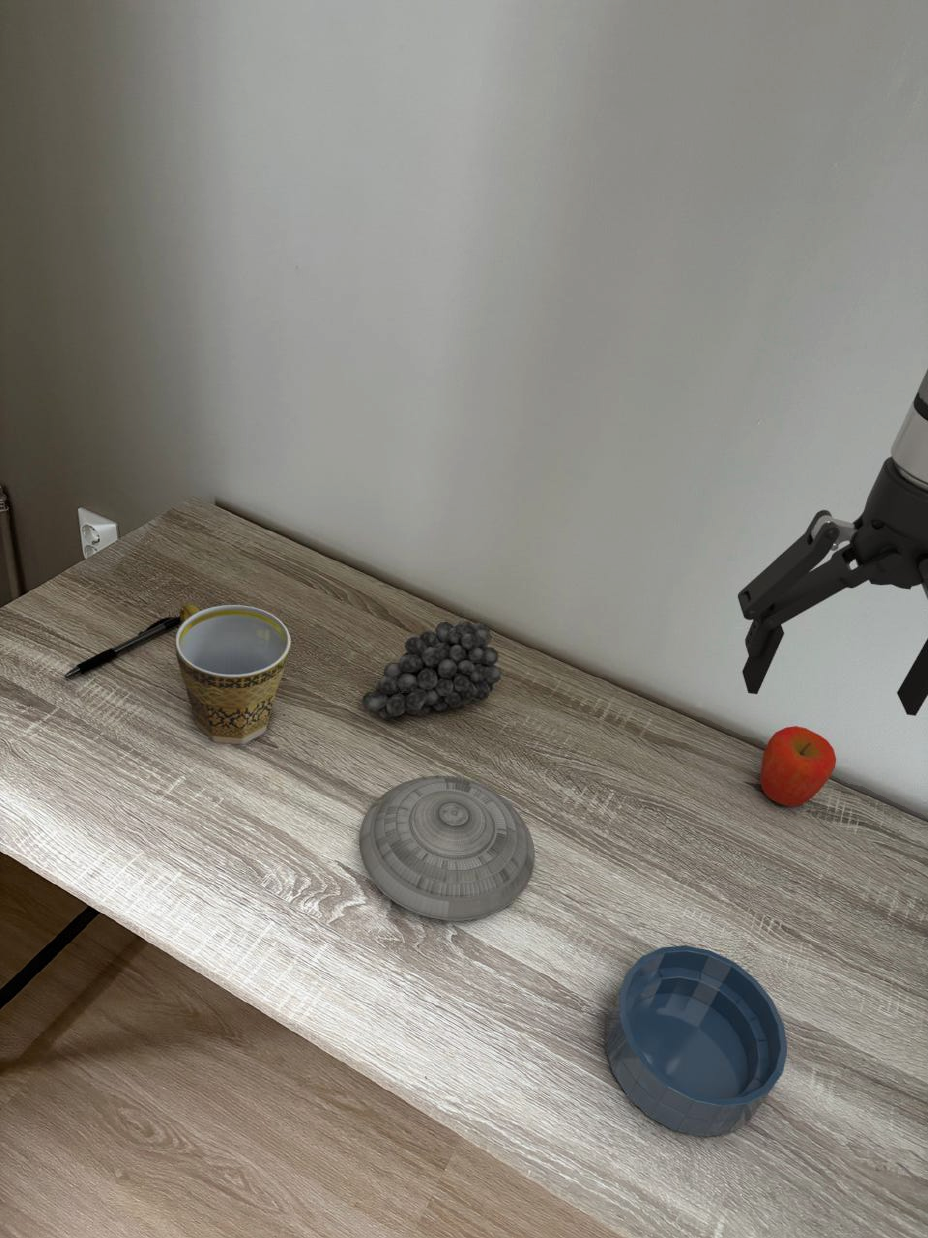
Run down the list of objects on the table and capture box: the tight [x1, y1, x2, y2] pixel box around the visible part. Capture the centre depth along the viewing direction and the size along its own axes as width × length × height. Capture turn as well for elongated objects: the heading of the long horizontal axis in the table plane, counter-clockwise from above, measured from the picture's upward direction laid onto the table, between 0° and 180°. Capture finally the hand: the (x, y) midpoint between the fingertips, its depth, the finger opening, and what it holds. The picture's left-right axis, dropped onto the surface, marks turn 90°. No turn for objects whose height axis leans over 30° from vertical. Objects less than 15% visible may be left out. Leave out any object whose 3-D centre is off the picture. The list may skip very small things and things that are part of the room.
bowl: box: [604, 944, 788, 1137], centre depth 71 cm, size 12×12×5 cm
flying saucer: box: [358, 775, 536, 922], centre depth 82 cm, size 15×15×6 cm
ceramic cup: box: [174, 603, 292, 745], centre depth 90 cm, size 13×10×10 cm
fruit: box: [361, 620, 502, 721], centre depth 96 cm, size 9×8×15 cm
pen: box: [64, 615, 182, 679], centre depth 98 cm, size 14×2×1 cm, turn 141°
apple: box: [760, 725, 837, 808], centre depth 93 cm, size 6×6×8 cm
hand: (827, 694), depth 82 cm, fingers open, 13 cm apart
